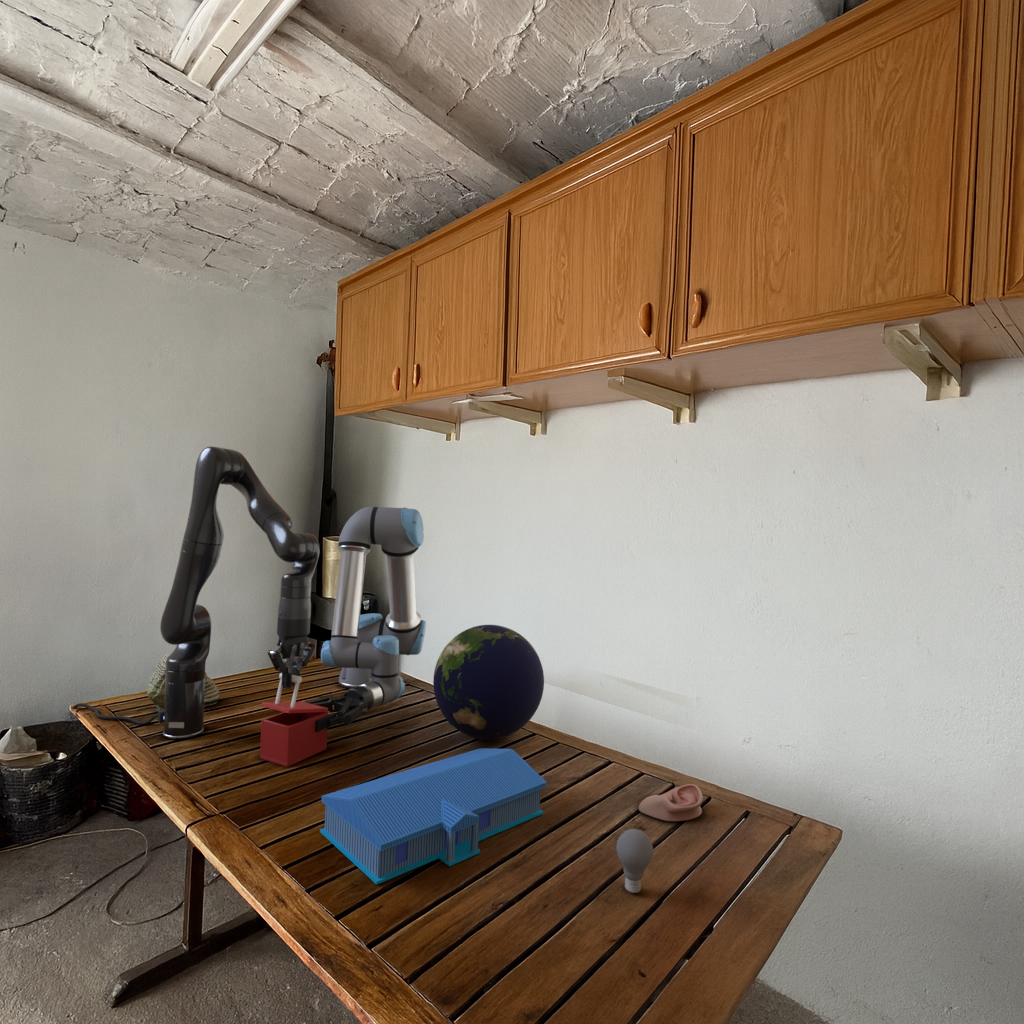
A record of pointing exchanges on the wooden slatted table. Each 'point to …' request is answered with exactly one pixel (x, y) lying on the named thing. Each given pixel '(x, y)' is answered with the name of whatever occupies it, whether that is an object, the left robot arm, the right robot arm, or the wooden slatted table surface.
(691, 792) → the anatomical model
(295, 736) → the chest
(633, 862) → the light bulb
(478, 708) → the globe
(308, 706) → the lid
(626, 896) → the wooden slatted table surface
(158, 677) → the fossil
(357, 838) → the model building
